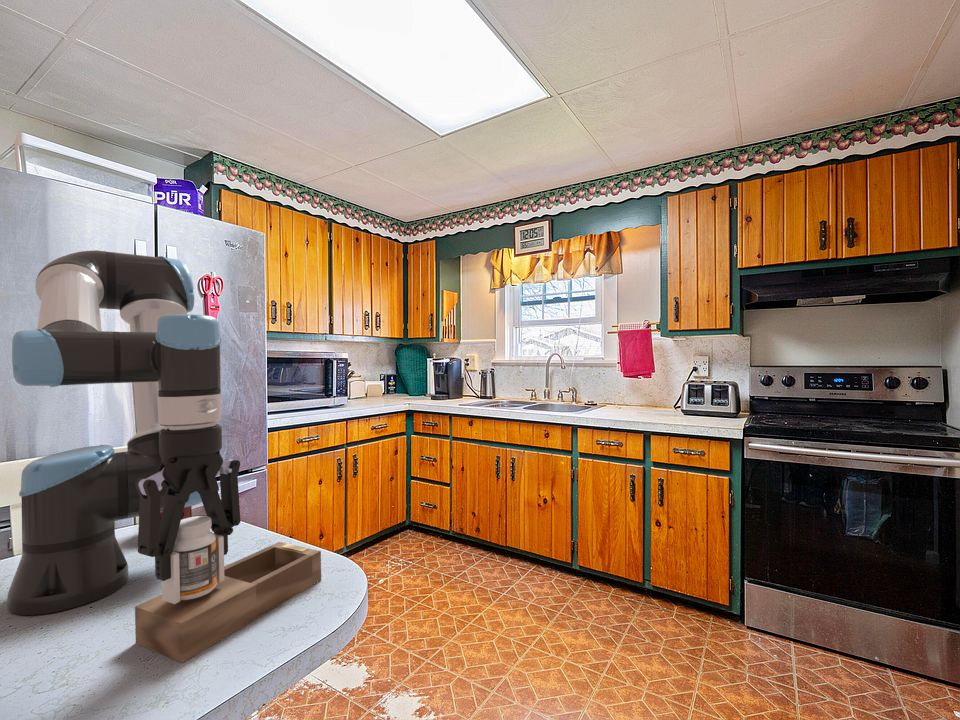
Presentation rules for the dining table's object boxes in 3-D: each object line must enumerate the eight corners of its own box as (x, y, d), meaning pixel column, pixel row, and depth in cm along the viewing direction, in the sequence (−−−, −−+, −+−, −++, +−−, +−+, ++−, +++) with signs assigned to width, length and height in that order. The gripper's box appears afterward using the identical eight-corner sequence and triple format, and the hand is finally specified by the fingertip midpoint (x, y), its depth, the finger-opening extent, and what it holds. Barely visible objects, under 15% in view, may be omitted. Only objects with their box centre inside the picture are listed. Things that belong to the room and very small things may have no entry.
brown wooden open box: (135, 643, 64) (134, 604, 64) (279, 569, 86) (279, 540, 85) (182, 662, 60) (181, 622, 59) (321, 579, 81) (320, 549, 81)
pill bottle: (224, 589, 67) (222, 519, 66) (178, 606, 62) (177, 532, 62) (207, 578, 70) (206, 511, 70) (163, 593, 66) (162, 522, 66)
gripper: (133, 437, 56) (137, 631, 56) (266, 418, 73) (269, 567, 73) (98, 434, 59) (102, 617, 59) (233, 416, 76) (236, 558, 76)
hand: (194, 589), depth 66 cm, fingers closed on pill bottle, 6 cm apart
